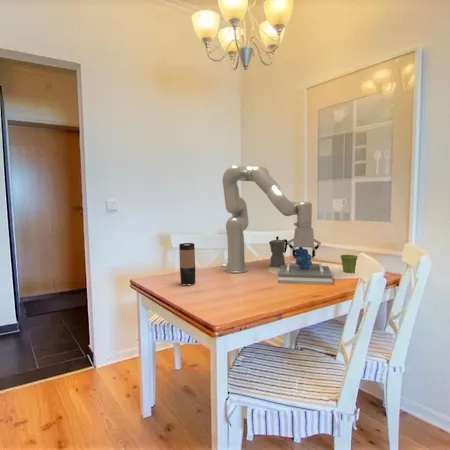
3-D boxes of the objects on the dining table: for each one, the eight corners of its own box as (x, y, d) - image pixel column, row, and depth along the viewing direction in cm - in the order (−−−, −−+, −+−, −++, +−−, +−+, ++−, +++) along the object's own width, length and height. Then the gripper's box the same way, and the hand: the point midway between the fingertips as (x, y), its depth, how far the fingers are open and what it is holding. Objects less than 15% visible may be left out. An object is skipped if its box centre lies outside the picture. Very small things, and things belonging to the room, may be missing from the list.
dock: (277, 282, 167) (277, 273, 167) (281, 270, 194) (280, 262, 194) (333, 284, 161) (333, 275, 161) (328, 271, 189) (328, 263, 188)
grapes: (289, 268, 184) (288, 246, 183) (297, 266, 189) (297, 245, 188) (306, 272, 175) (306, 249, 174) (314, 270, 180) (314, 247, 179)
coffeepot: (275, 268, 199) (274, 238, 198) (264, 266, 207) (263, 236, 205) (293, 264, 208) (293, 235, 206) (282, 262, 216) (282, 234, 214)
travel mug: (198, 282, 172) (197, 243, 170) (190, 286, 165) (189, 245, 163) (185, 281, 175) (184, 242, 173) (177, 284, 168) (176, 244, 166)
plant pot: (359, 270, 189) (359, 255, 188) (356, 274, 181) (356, 258, 180) (342, 269, 194) (342, 254, 193) (338, 272, 186) (338, 256, 185)
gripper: (287, 225, 177) (286, 258, 178) (321, 226, 173) (320, 259, 175) (287, 224, 184) (287, 255, 186) (320, 225, 180) (320, 256, 182)
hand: (303, 257), depth 180 cm, fingers open, 9 cm apart
